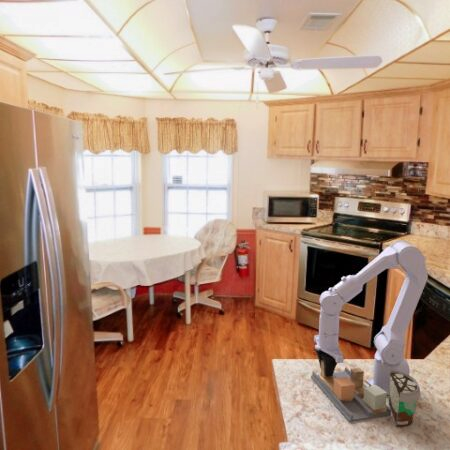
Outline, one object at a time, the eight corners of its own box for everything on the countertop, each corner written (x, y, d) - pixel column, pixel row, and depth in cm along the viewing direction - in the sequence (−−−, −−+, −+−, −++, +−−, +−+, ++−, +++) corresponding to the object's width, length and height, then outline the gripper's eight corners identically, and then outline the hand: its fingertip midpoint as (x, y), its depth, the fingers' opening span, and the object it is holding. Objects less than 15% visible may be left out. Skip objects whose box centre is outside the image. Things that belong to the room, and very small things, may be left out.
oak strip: (330, 377, 118) (331, 358, 117) (352, 400, 107) (353, 379, 106) (318, 379, 117) (319, 360, 116) (338, 402, 106) (340, 381, 105)
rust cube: (346, 390, 110) (346, 377, 109) (353, 398, 106) (354, 384, 105) (333, 391, 109) (334, 378, 108) (340, 400, 105) (341, 386, 104)
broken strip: (360, 386, 113) (361, 367, 112) (386, 412, 102) (388, 390, 101) (347, 388, 112) (348, 368, 111) (372, 414, 101) (374, 392, 100)
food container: (424, 434, 94) (427, 397, 93) (397, 430, 95) (400, 393, 94) (410, 404, 106) (413, 370, 105) (387, 401, 107) (389, 368, 106)
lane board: (346, 372, 122) (346, 367, 122) (391, 415, 101) (391, 409, 101) (310, 377, 120) (311, 371, 119) (348, 422, 98) (349, 415, 98)
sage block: (374, 398, 106) (375, 384, 105) (385, 406, 102) (386, 392, 101) (363, 401, 104) (364, 387, 104) (374, 410, 101) (375, 395, 100)
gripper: (305, 323, 121) (304, 363, 123) (328, 343, 107) (326, 388, 109) (326, 321, 122) (324, 360, 124) (351, 340, 108) (348, 385, 110)
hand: (326, 373), depth 116 cm, fingers closed on oak strip, 2 cm apart
